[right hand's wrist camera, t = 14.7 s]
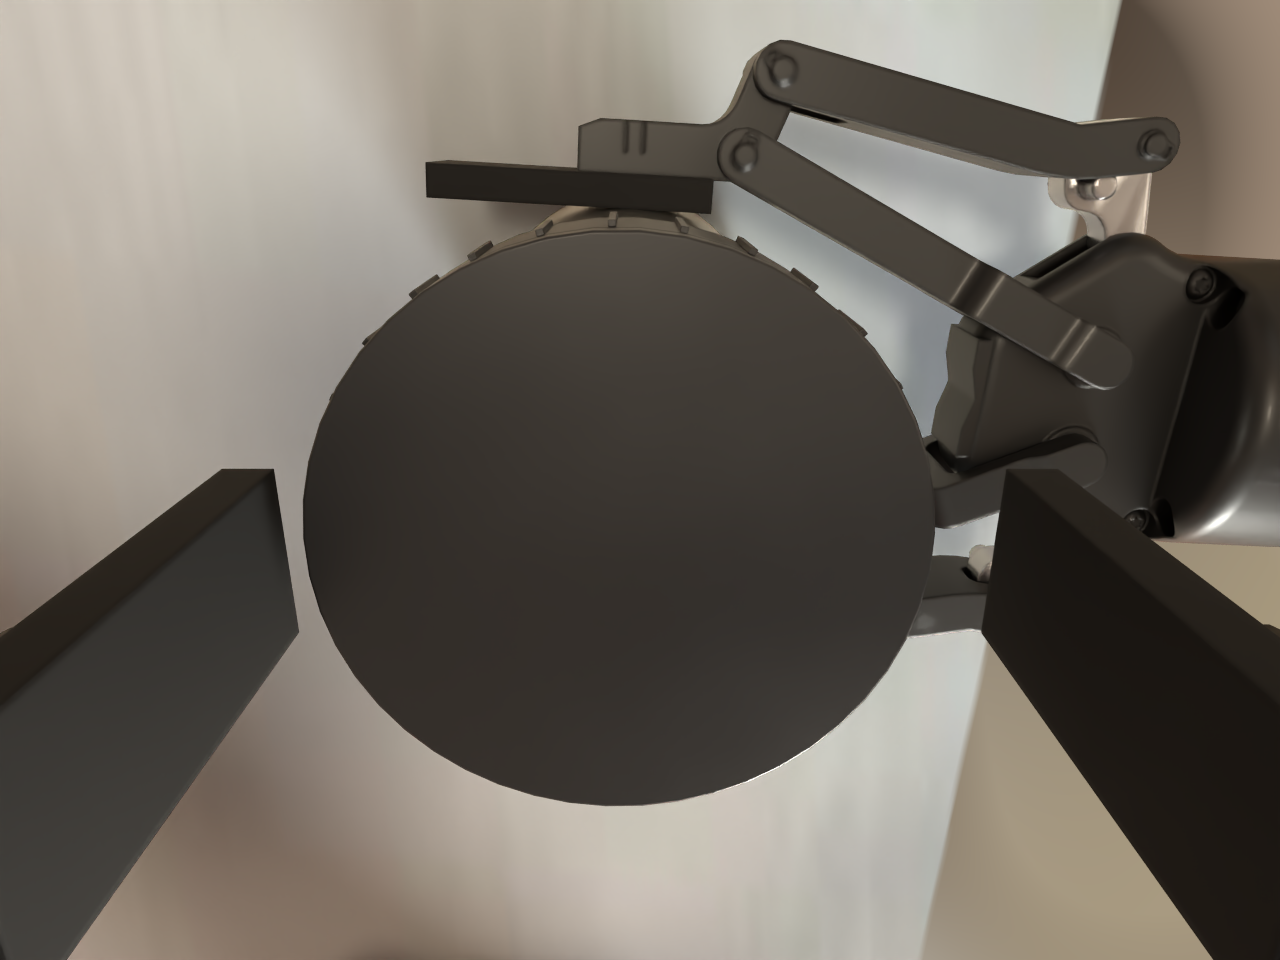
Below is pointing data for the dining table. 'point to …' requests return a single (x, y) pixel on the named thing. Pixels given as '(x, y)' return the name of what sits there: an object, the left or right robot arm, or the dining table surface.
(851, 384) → the lid
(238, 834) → the dining table surface
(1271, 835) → the right robot arm
